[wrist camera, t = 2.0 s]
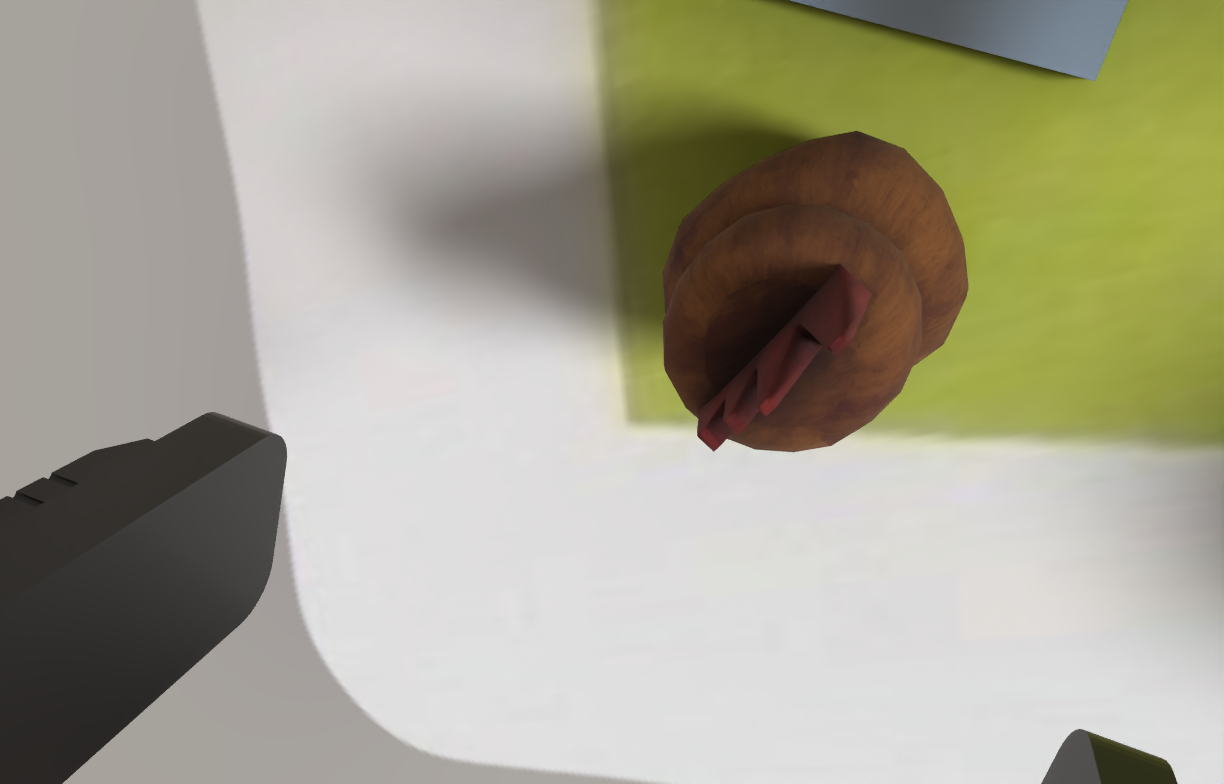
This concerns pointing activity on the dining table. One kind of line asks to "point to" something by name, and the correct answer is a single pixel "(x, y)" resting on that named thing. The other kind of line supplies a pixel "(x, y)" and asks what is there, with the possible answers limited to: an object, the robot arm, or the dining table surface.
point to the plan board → (1003, 27)
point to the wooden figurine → (809, 293)
